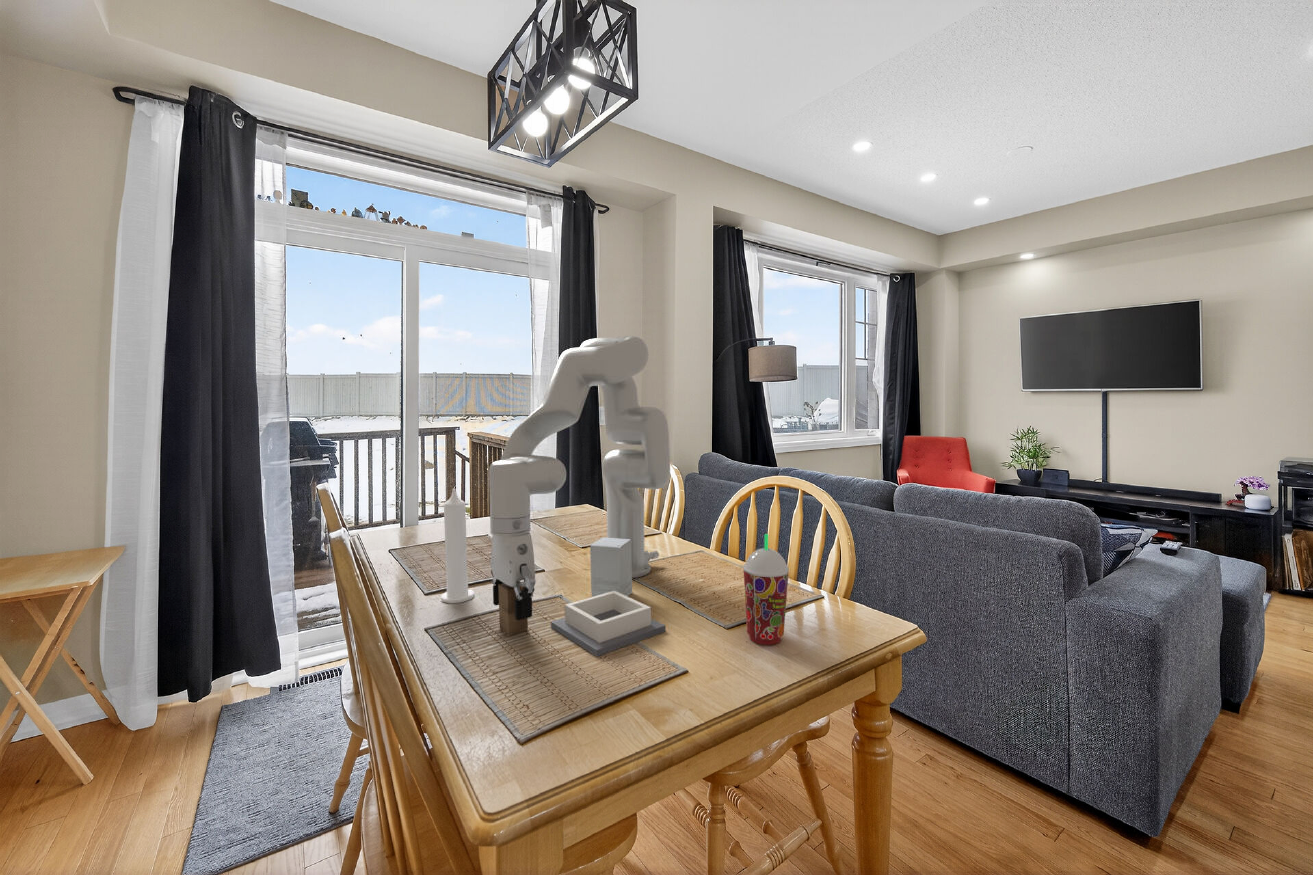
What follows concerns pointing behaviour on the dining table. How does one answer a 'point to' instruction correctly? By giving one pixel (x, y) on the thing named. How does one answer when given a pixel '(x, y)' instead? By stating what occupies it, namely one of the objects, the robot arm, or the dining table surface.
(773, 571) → the smoothie
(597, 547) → the supplement box
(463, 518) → the candle
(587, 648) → the collar stand
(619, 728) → the dining table surface
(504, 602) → the block
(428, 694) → the dining table surface
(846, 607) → the dining table surface
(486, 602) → the dining table surface
